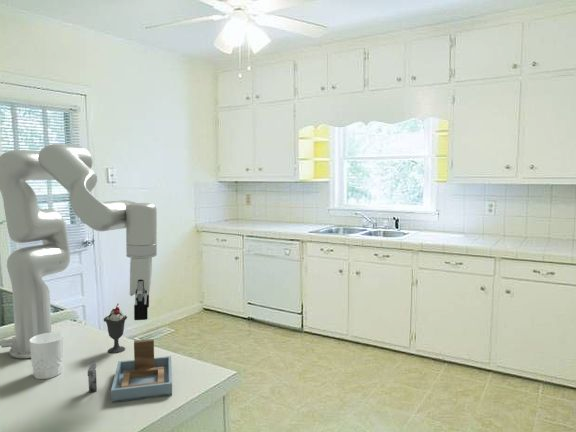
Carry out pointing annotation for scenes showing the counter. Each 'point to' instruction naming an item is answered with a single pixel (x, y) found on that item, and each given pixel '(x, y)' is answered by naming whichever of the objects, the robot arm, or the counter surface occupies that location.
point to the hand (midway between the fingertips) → (141, 313)
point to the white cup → (47, 355)
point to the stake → (92, 377)
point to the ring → (143, 364)
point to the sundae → (115, 328)
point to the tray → (144, 390)
